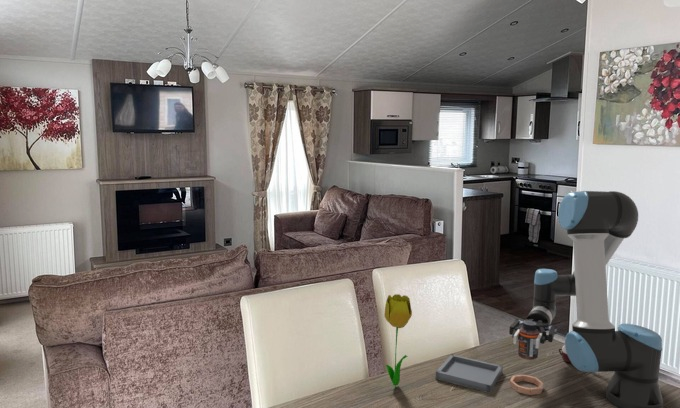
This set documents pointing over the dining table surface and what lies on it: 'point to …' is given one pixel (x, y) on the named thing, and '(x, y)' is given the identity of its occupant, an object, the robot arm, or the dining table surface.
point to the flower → (397, 325)
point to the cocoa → (564, 354)
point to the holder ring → (523, 389)
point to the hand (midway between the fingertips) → (525, 342)
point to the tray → (469, 373)
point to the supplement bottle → (528, 341)
